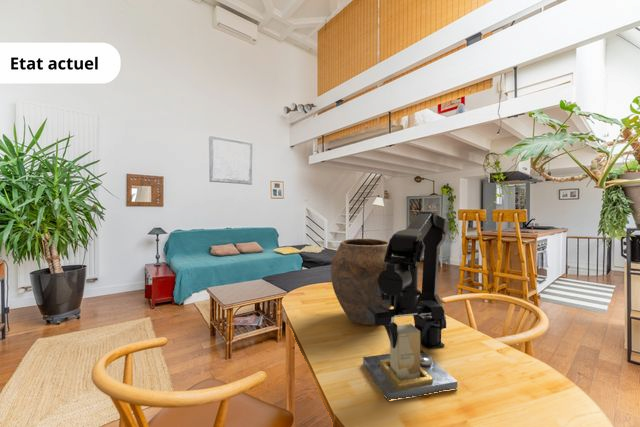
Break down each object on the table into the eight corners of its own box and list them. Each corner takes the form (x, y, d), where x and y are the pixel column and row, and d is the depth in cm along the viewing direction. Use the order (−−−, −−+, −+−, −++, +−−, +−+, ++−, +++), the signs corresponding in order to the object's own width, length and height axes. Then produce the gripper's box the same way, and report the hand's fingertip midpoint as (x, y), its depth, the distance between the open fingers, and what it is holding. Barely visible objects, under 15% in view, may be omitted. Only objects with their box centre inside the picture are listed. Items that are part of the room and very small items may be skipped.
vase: (322, 328, 99) (321, 244, 98) (340, 303, 124) (340, 236, 122) (398, 340, 90) (399, 248, 89) (401, 310, 115) (402, 238, 114)
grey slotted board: (420, 356, 81) (421, 345, 81) (457, 389, 66) (457, 377, 66) (363, 364, 77) (363, 353, 77) (388, 402, 62) (388, 389, 62)
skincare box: (398, 383, 67) (397, 334, 66) (389, 373, 71) (388, 326, 71) (422, 378, 69) (421, 330, 68) (411, 368, 73) (410, 322, 72)
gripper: (420, 273, 79) (419, 327, 80) (358, 278, 75) (358, 334, 75) (446, 285, 68) (445, 347, 69) (376, 291, 64) (375, 357, 64)
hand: (405, 345), depth 70 cm, fingers closed on skincare box, 6 cm apart
